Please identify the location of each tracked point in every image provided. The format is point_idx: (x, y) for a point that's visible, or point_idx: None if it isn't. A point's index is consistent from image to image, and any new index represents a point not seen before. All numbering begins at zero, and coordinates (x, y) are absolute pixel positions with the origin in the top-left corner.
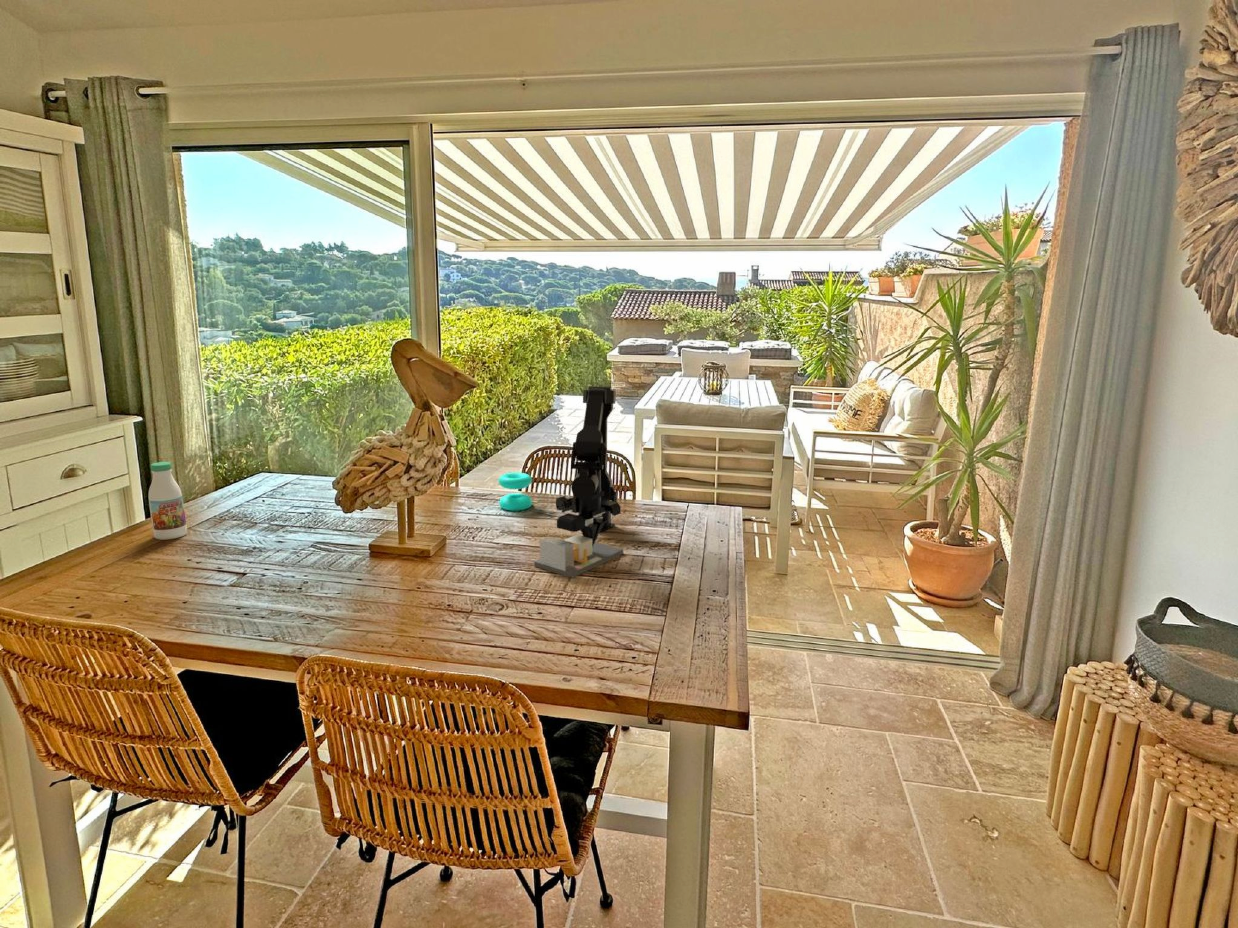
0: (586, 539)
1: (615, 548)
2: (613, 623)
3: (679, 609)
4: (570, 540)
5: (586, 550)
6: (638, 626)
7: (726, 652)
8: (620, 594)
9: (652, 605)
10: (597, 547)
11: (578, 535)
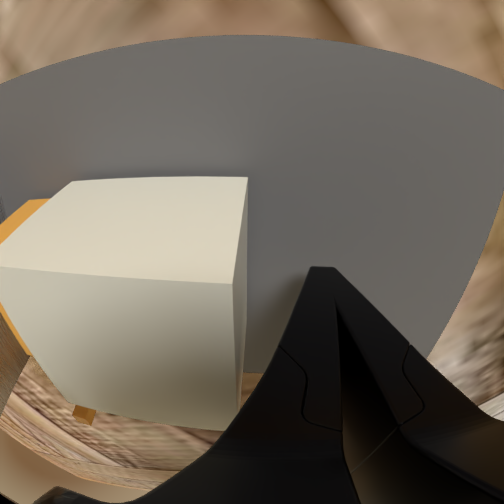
0: (187, 412)
1: (423, 341)
2: (44, 430)
3: (159, 475)
4: (35, 325)
5: (87, 422)
6: (73, 449)
7: (127, 486)
8: (108, 431)
9: (132, 460)
10: (410, 260)
11: (223, 317)
